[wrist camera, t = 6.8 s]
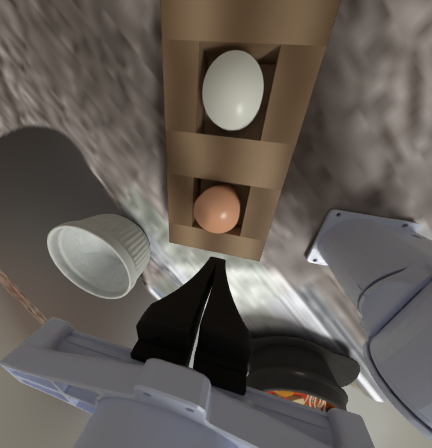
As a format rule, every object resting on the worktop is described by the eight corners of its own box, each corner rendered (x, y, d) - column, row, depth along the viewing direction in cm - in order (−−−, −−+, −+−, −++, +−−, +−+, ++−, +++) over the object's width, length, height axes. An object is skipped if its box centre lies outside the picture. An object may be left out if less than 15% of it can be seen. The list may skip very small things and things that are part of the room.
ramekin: (79, 230, 29) (33, 252, 23) (113, 190, 23) (66, 205, 17) (131, 277, 32) (103, 308, 26) (172, 251, 27) (149, 282, 21)
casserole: (368, 337, 27) (413, 409, 19) (339, 384, 35) (363, 448, 27) (226, 317, 32) (219, 368, 24) (229, 362, 40) (225, 411, 32)
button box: (321, 23, 12) (349, -27, 9) (257, 243, 23) (259, 261, 19) (182, 19, 14) (159, -25, 10) (181, 228, 24) (169, 242, 21)
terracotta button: (244, 186, 18) (243, 194, 14) (237, 223, 20) (234, 237, 17) (203, 180, 18) (194, 186, 15) (201, 216, 20) (192, 228, 17)
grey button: (266, 73, 14) (271, 51, 11) (254, 135, 16) (255, 131, 13) (214, 70, 14) (204, 48, 11) (209, 130, 16) (200, 125, 13)
